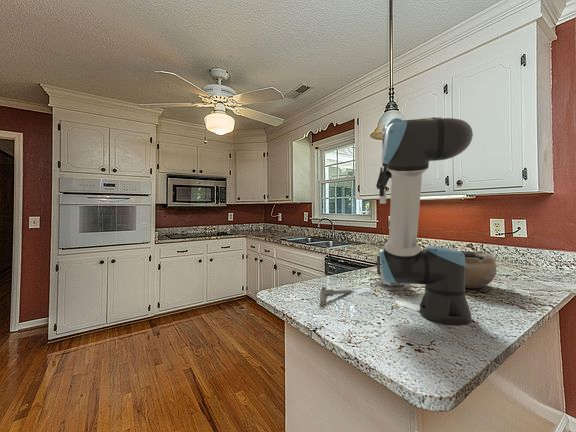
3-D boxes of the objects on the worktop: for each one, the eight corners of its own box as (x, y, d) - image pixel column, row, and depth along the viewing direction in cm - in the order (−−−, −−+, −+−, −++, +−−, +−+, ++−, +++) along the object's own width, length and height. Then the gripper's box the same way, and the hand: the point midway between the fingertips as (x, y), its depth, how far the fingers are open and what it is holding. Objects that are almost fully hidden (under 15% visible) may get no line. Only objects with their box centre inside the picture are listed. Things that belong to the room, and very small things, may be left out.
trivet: (418, 286, 125) (418, 284, 125) (399, 293, 115) (399, 291, 115) (387, 279, 138) (386, 277, 138) (367, 285, 128) (367, 283, 128)
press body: (408, 284, 125) (408, 253, 125) (396, 288, 119) (396, 256, 119) (383, 279, 136) (383, 250, 135) (371, 282, 130) (371, 252, 129)
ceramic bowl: (476, 296, 110) (476, 260, 110) (428, 283, 130) (429, 252, 130) (507, 289, 119) (507, 255, 119) (458, 277, 139) (459, 248, 139)
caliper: (322, 304, 105) (322, 288, 105) (319, 303, 106) (319, 287, 106) (353, 292, 119) (353, 278, 118) (351, 292, 119) (351, 278, 119)
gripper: (397, 161, 135) (397, 203, 136) (367, 155, 119) (368, 203, 120) (412, 159, 129) (412, 203, 130) (383, 153, 114) (383, 203, 114)
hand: (391, 203), depth 125 cm, fingers open, 13 cm apart
